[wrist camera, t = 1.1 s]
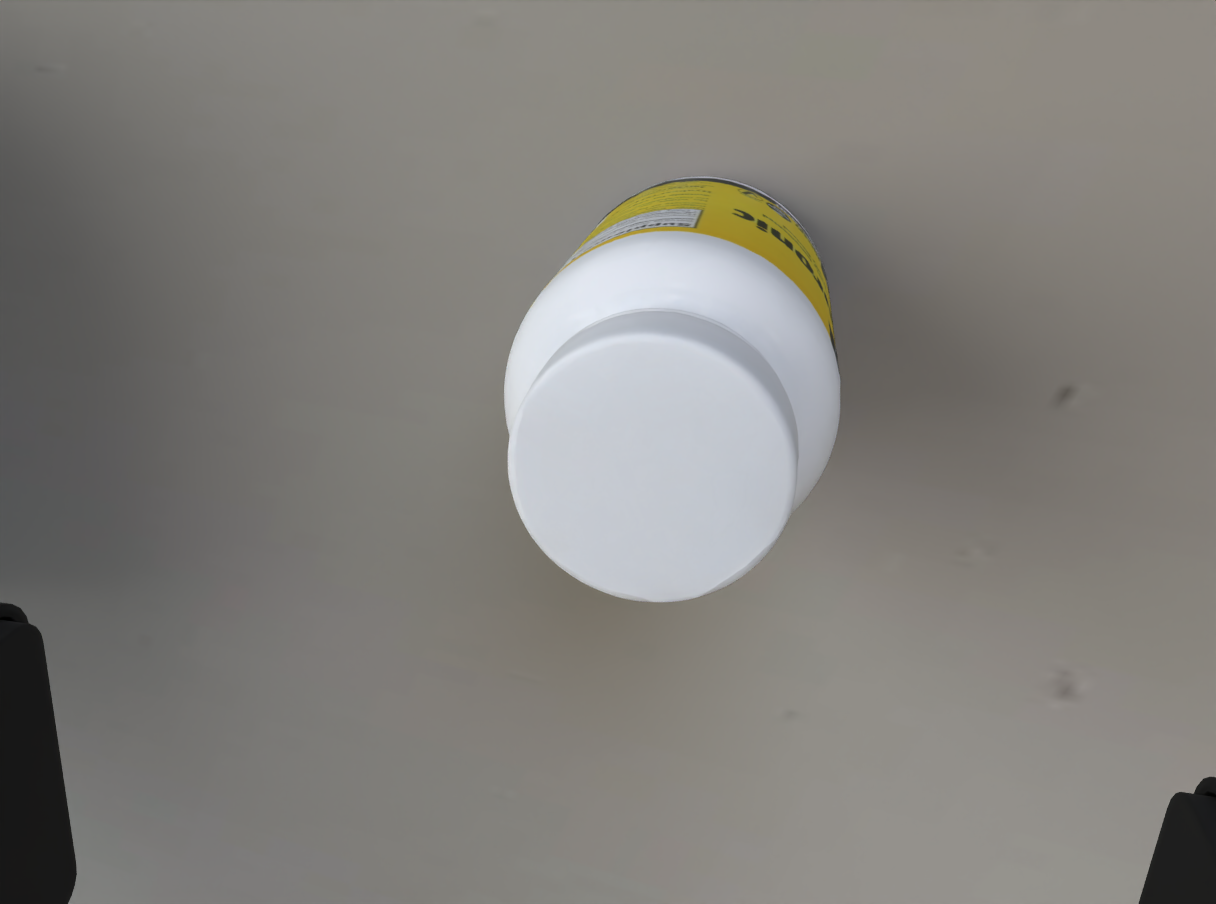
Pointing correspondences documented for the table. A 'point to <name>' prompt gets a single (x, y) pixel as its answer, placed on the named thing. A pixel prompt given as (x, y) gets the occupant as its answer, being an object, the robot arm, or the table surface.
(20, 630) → the robot arm
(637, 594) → the supplement bottle
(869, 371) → the table surface
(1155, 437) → the table surface
